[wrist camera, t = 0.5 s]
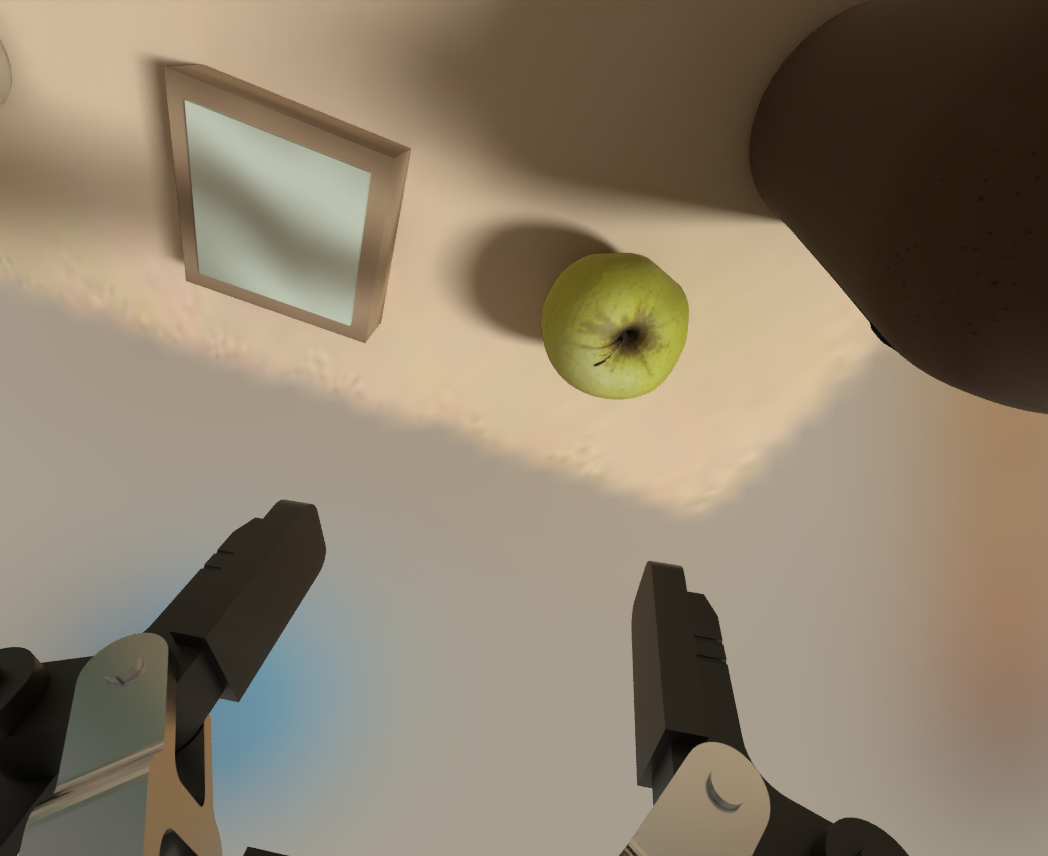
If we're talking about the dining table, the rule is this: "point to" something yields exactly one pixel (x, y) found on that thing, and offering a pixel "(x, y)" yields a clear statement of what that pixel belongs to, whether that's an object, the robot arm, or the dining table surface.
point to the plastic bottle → (4, 76)
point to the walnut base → (283, 201)
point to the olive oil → (924, 180)
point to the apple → (614, 325)
